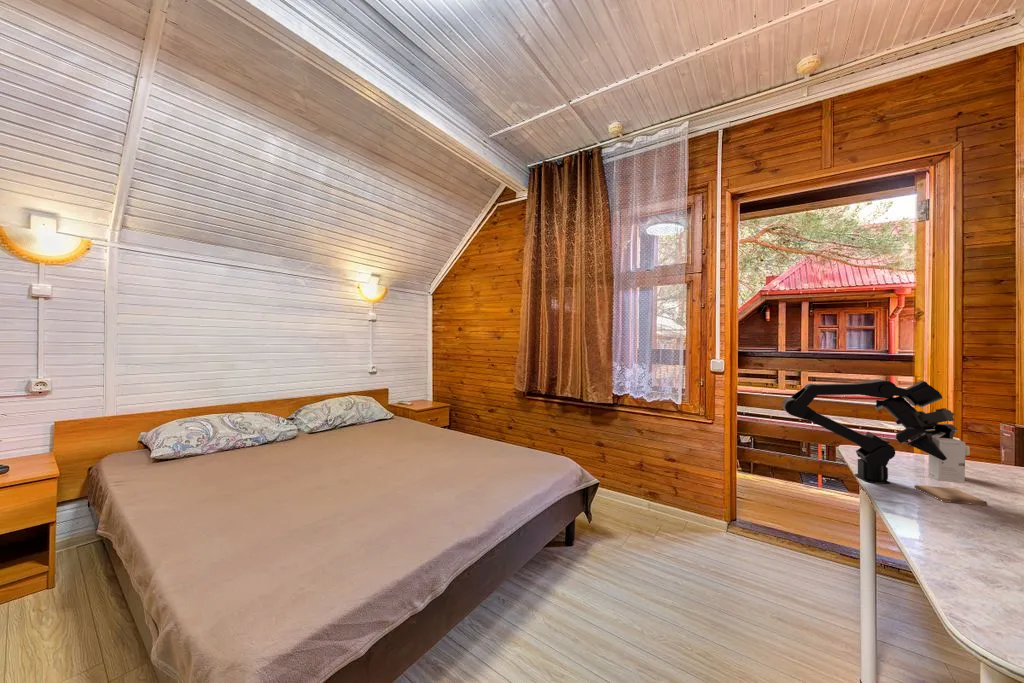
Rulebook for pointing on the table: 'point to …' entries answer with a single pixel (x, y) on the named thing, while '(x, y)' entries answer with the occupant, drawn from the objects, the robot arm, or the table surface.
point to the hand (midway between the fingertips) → (953, 458)
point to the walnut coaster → (950, 494)
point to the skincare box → (948, 461)
